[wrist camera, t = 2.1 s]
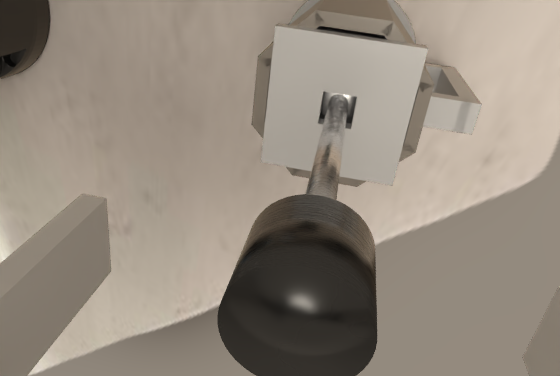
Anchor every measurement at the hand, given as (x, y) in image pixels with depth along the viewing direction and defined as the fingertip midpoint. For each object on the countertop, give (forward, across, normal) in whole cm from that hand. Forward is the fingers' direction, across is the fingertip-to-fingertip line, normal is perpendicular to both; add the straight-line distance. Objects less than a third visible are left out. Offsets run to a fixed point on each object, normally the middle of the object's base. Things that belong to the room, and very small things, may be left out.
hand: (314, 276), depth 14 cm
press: (+32, +1, 0) cm, 32 cm away
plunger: (+18, 0, 0) cm, 18 cm away
